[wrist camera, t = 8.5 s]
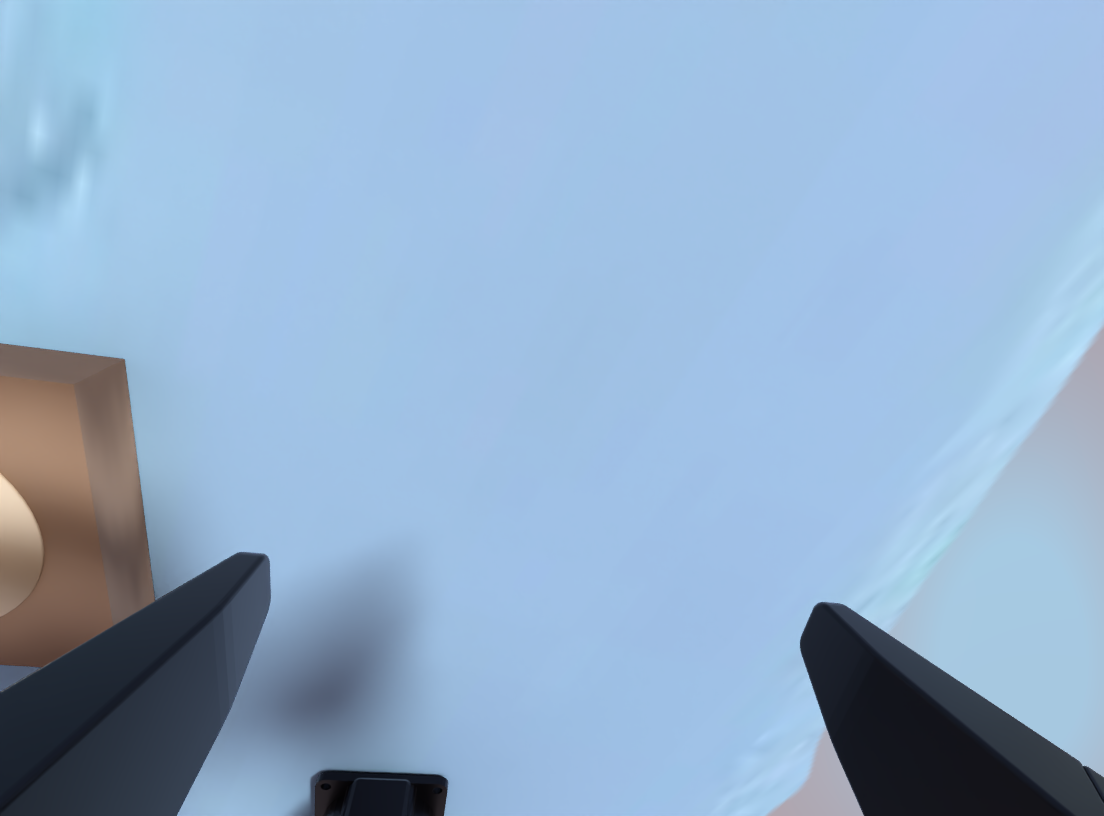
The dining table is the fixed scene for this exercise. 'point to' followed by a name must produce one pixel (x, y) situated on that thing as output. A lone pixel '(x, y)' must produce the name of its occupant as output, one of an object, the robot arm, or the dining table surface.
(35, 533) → the walnut plinth
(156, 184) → the dining table surface
